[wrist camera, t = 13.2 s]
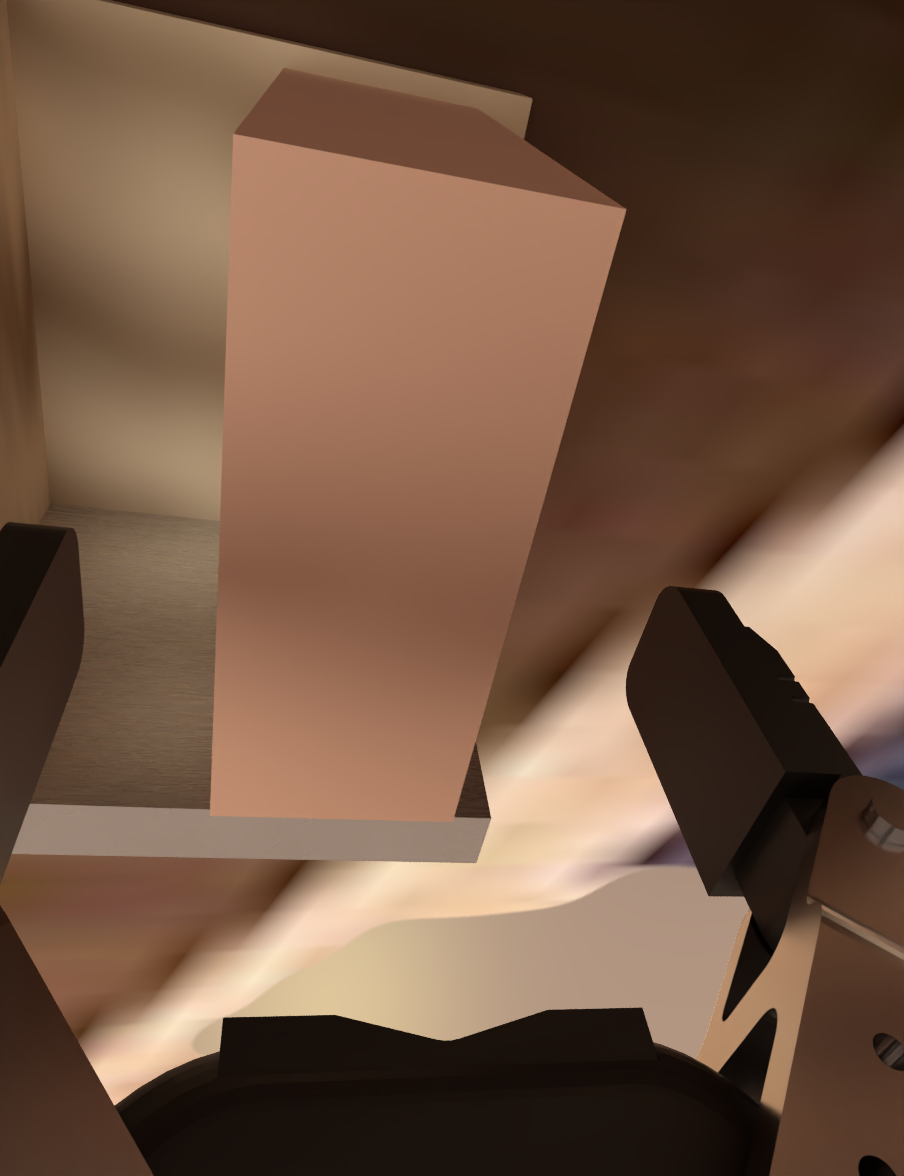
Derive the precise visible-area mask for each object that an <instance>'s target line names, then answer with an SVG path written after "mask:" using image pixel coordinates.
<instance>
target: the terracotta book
mask: <svg viewBox="0 0 904 1176" xmlns="http://www.w3.org/2000/svg"><path fill="white" fill-rule="evenodd" d="M625 213H626V209H625V208H624V207H622V206H621V205H619V204H618V203H616V202H615V201H613V200H612V199H610V198H609V197H607V196H606V195H605V194H603V193H602V192H600V191H599V190H597V189H596V188H594V187H593V186H591V185H590V184H588V183H587V182H585V181H584V180H582V179H581V178H579V177H578V176H576V175H575V174H573V173H572V172H571V171H569V170H568V169H566V168H565V167H563V166H562V165H560V164H559V163H557V162H556V161H554V160H553V159H551V158H550V157H548V156H547V155H545V154H544V153H542V152H541V151H540V150H538V149H537V148H535V147H534V146H532V145H531V144H529V143H528V142H526V141H525V140H523V139H522V138H520V137H519V136H517V135H516V134H514V133H513V132H511V131H510V130H508V129H507V128H506V127H504V126H503V125H501V124H500V123H498V122H497V121H495V120H494V119H492V118H491V117H489V116H488V115H486V114H485V113H483V112H482V111H480V110H479V109H477V108H473V107H468V106H464V105H459V104H454V103H449V102H445V101H440V100H435V99H430V98H426V97H421V96H416V95H411V94H407V93H402V92H397V91H392V90H388V89H383V88H378V87H373V86H369V85H364V84H359V83H354V82H350V81H345V80H340V79H336V78H331V77H326V76H321V75H317V74H312V73H307V72H302V71H298V70H293V69H288V68H283V70H282V71H281V72H280V73H279V75H278V76H277V77H276V79H275V80H274V81H273V83H272V84H271V85H270V87H269V88H268V89H267V90H266V92H265V93H264V94H263V96H262V97H261V98H260V100H259V101H258V102H257V103H256V105H255V106H254V107H253V109H252V110H251V111H250V113H249V114H248V115H247V117H246V118H245V119H244V120H243V122H242V123H241V124H240V126H239V127H238V128H237V130H236V131H235V132H234V133H233V154H232V184H231V213H230V242H229V271H228V301H227V330H226V359H225V389H224V418H223V447H222V476H221V506H220V535H219V564H218V593H217V623H216V652H215V681H214V710H213V740H212V769H211V798H210V816H233V817H273V818H312V819H352V820H392V821H431V822H453V819H454V816H455V812H456V809H457V805H458V802H459V798H460V795H461V791H462V788H463V784H464V781H465V777H466V774H467V770H468V766H469V763H470V759H471V756H472V752H473V749H474V745H475V742H476V738H477V735H478V731H479V728H480V724H481V721H482V717H483V714H484V710H485V707H486V703H487V699H488V696H489V692H490V689H491V685H492V682H493V678H494V675H495V671H496V668H497V664H498V661H499V657H500V654H501V650H502V647H503V643H504V640H505V636H506V632H507V629H508V625H509V622H510V618H511V615H512V611H513V608H514V604H515V601H516V597H517V594H518V590H519V587H520V583H521V580H522V576H523V573H524V569H525V565H526V562H527V558H528V555H529V551H530V548H531V544H532V541H533V537H534V534H535V530H536V527H537V523H538V520H539V516H540V513H541V509H542V506H543V502H544V498H545V495H546V491H547V488H548V484H549V481H550V477H551V474H552V470H553V467H554V463H555V460H556V456H557V453H558V449H559V446H560V442H561V438H562V435H563V431H564V428H565V424H566V421H567V417H568V414H569V410H570V407H571V403H572V400H573V396H574V393H575V389H576V386H577V382H578V379H579V375H580V371H581V368H582V364H583V361H584V357H585V354H586V350H587V347H588V343H589V340H590V336H591V333H592V329H593V326H594V322H595V319H596V315H597V312H598V308H599V304H600V301H601V297H602V294H603V290H604V287H605V283H606V280H607V276H608V273H609V269H610V266H611V262H612V259H613V255H614V252H615V248H616V245H617V241H618V237H619V234H620V230H621V227H622V223H623V220H624V216H625Z"/></svg>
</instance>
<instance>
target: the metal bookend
mask: <svg viewBox="0 0 904 1176" xmlns="http://www.w3.org/2000/svg"><path fill="white" fill-rule="evenodd" d="M39 525H47V526H58V527H68V528H73V529H74V530H75V532H76V535H77V539H78V546H79V560H80V573H81V586H82V600H83V613H84V645H83V653H82V659H81V664H80V668H79V671H78V674H77V677H76V680H75V682H74V685H73V688H72V691H71V693H70V696H69V699H68V701H67V704H66V707H65V710H64V712H63V715H62V718H61V720H60V723H59V726H58V729H57V731H56V734H55V737H54V740H53V742H52V745H51V748H50V750H49V753H48V756H47V759H46V761H45V764H44V767H43V769H42V772H41V775H40V778H39V780H38V783H37V786H36V788H35V791H34V794H33V797H32V799H31V802H30V805H29V808H28V810H27V813H26V816H25V818H24V821H23V824H22V827H21V829H20V832H19V835H18V837H17V840H16V843H15V846H14V848H13V851H12V854H52V855H101V856H151V857H201V858H251V859H301V860H351V861H401V862H451V863H476V862H477V859H478V856H479V853H480V850H481V847H482V844H483V841H484V838H485V835H486V832H487V829H488V826H489V823H490V820H491V816H490V811H489V806H488V801H487V796H486V791H485V786H484V781H483V776H482V771H481V766H480V761H479V756H478V751H477V745H476V742H475V745H474V749H473V752H472V756H471V759H470V763H469V766H468V770H467V774H466V777H465V781H464V784H463V788H462V791H461V795H460V798H459V802H458V805H457V809H456V812H455V816H454V819H453V822H431V821H392V820H352V819H312V818H273V817H233V816H210V798H211V769H212V740H213V710H214V681H215V652H216V623H217V593H218V564H219V535H220V521H216V520H206V519H197V518H187V517H177V516H168V515H158V514H149V513H139V512H129V511H120V510H110V509H101V508H91V507H81V506H72V505H62V504H52V503H50V505H49V507H48V509H47V510H46V512H45V514H44V516H43V517H42V519H41V521H40V523H39Z"/></svg>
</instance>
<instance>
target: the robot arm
mask: <svg viewBox="0 0 904 1176" xmlns="http://www.w3.org/2000/svg"><path fill="white" fill-rule="evenodd" d="M83 645H84V613H83V600H82V586H81V573H80V560H79V546H78V539H77V535H76V532H75V530H74V529H73V528H68V527H58V526H47V525H37V524H26V523H16V522H8V523H6V524H5V525H4V526H3V528H2V529H1V531H0V884H1V881H2V878H3V875H4V873H5V870H6V867H7V865H8V862H9V859H10V856H11V854H12V851H13V848H14V846H15V843H16V840H17V837H18V835H19V832H20V829H21V827H22V824H23V821H24V818H25V816H26V813H27V810H28V808H29V805H30V802H31V799H32V797H33V794H34V791H35V788H36V786H37V783H38V780H39V778H40V775H41V772H42V769H43V767H44V764H45V761H46V759H47V756H48V753H49V750H50V748H51V745H52V742H53V740H54V737H55V734H56V731H57V729H58V726H59V723H60V720H61V718H62V715H63V712H64V710H65V707H66V704H67V701H68V699H69V696H70V693H71V691H72V688H73V685H74V682H75V680H76V677H77V674H78V671H79V668H80V664H81V659H82V653H83ZM794 678H795V676H794V675H793V673H792V672H791V670H790V669H789V667H788V666H787V664H786V663H785V661H784V660H783V659H782V657H781V656H780V654H779V653H778V651H777V650H776V649H774V648H773V647H772V646H771V645H770V644H769V643H767V642H766V641H765V640H764V639H763V638H761V637H760V636H759V635H758V634H757V633H756V632H754V631H753V630H752V629H751V628H750V627H744V625H743V624H742V622H741V621H740V619H739V618H738V616H737V615H736V613H735V612H734V610H733V608H732V607H731V605H730V604H729V602H728V601H727V599H726V598H725V597H724V595H723V594H722V593H721V592H719V591H716V590H705V589H695V588H684V587H674V586H669V587H666V588H665V589H663V591H662V592H661V593H660V594H659V596H658V598H657V600H656V602H655V605H654V607H653V610H652V612H651V614H650V617H649V619H648V622H647V624H646V626H645V629H644V631H643V634H642V636H641V638H640V641H639V643H638V646H637V648H636V650H635V653H634V655H633V658H632V660H631V663H630V665H629V668H628V672H627V678H626V696H627V702H628V706H629V709H630V711H631V714H632V716H633V718H634V721H635V723H636V725H637V728H638V730H639V733H640V735H641V737H642V740H643V742H644V744H645V747H646V749H647V751H648V754H649V756H650V759H651V761H652V763H653V766H654V768H655V770H656V773H657V775H658V777H659V780H660V782H661V785H662V787H663V789H664V792H665V794H666V796H667V799H668V801H669V804H670V806H671V808H672V811H673V813H674V815H675V818H676V820H677V822H678V825H679V827H680V830H681V832H682V834H683V837H684V839H685V841H686V844H687V846H688V849H689V851H690V853H691V856H692V858H693V860H694V863H695V865H696V867H697V870H698V872H699V875H700V877H701V879H702V882H703V884H704V886H705V889H706V891H707V893H708V896H744V897H745V899H746V901H747V903H748V906H749V907H750V910H749V911H748V913H747V914H746V915H745V917H744V918H743V920H742V922H741V924H740V926H739V929H738V933H737V936H736V939H735V943H734V946H733V949H732V953H731V956H730V959H729V962H728V965H727V969H726V972H725V975H724V979H723V982H722V985H721V989H720V992H719V995H718V999H717V1002H716V1005H715V1009H714V1012H713V1015H712V1018H711V1021H710V1025H709V1028H708V1031H707V1034H706V1037H705V1040H704V1042H703V1045H702V1047H701V1050H700V1052H699V1054H698V1056H697V1058H696V1059H693V1058H692V1057H690V1056H688V1055H686V1054H684V1053H681V1052H679V1051H676V1050H674V1049H671V1048H669V1047H666V1046H664V1045H661V1044H657V1043H654V1042H653V1041H652V1038H651V1034H650V1031H649V1028H648V1025H647V1021H646V1018H645V1015H644V1012H643V1009H642V1008H610V1009H566V1010H546V1011H543V1012H540V1013H537V1014H534V1015H531V1016H528V1017H525V1018H521V1019H518V1020H516V1021H512V1022H509V1023H506V1024H503V1025H500V1026H497V1027H494V1028H491V1029H488V1030H485V1031H482V1032H479V1033H475V1034H472V1035H469V1036H467V1037H463V1038H460V1039H456V1040H452V1041H442V1040H436V1039H431V1038H427V1037H423V1036H419V1035H415V1034H411V1033H406V1032H403V1031H399V1030H394V1029H390V1028H386V1027H382V1026H378V1025H373V1024H369V1023H365V1022H362V1021H358V1020H353V1019H349V1018H345V1017H341V1016H337V1015H317V1016H276V1017H274V1016H273V1017H232V1018H223V1026H222V1036H221V1046H220V1051H219V1052H216V1053H213V1054H210V1055H207V1056H204V1057H200V1058H197V1059H194V1060H192V1061H190V1062H187V1063H185V1064H183V1065H181V1066H178V1067H176V1068H174V1069H172V1070H169V1071H167V1072H165V1073H164V1074H162V1075H160V1076H158V1077H157V1078H155V1079H153V1080H152V1081H150V1082H148V1083H146V1084H145V1085H143V1086H141V1087H140V1088H138V1089H137V1090H135V1091H134V1092H133V1093H131V1094H130V1095H129V1096H127V1097H126V1098H125V1099H123V1100H122V1101H121V1102H119V1103H118V1104H116V1105H115V1106H114V1105H113V1103H112V1101H111V1099H110V1097H109V1096H108V1094H107V1092H106V1090H105V1089H104V1087H103V1085H102V1083H101V1082H100V1080H99V1078H98V1076H97V1074H96V1073H95V1071H94V1069H93V1067H92V1066H91V1064H90V1062H89V1060H88V1058H87V1057H86V1055H85V1053H84V1051H83V1050H82V1048H81V1046H80V1044H79V1043H78V1041H77V1039H76V1037H75V1035H74V1034H73V1032H72V1030H71V1028H70V1027H69V1025H68V1023H67V1021H66V1020H65V1018H64V1016H63V1014H62V1012H61V1011H60V1009H59V1007H58V1005H57V1004H56V1002H55V1000H54V998H53V997H52V995H51V993H50V991H49V989H48V988H47V986H46V984H45V982H44V981H43V979H42V977H41V975H40V973H39V972H38V970H37V968H36V966H35V965H34V963H33V961H32V959H31V958H30V956H29V954H28V952H27V950H26V949H25V947H24V945H23V943H22V942H21V940H20V938H19V936H18V935H17V933H16V931H15V929H14V927H13V926H12V924H11V922H10V920H9V919H8V917H7V915H6V914H5V912H4V911H3V909H2V908H1V906H0V1176H904V790H902V789H900V788H899V787H897V786H895V785H893V784H890V783H888V782H886V781H883V780H880V779H877V778H873V777H868V776H863V775H862V774H861V772H860V771H859V770H858V768H857V767H856V765H855V764H854V762H853V761H852V759H851V758H850V756H849V755H848V754H847V752H846V751H845V749H844V748H843V746H842V745H841V743H840V742H839V740H838V739H837V737H836V736H835V735H834V733H833V732H832V730H831V729H830V727H829V726H828V724H827V723H826V721H825V720H824V718H823V717H822V716H821V714H820V713H819V711H818V710H817V708H816V707H815V705H814V704H813V703H809V697H808V695H807V694H806V692H805V691H804V689H803V688H802V686H801V685H800V683H799V682H795V681H794Z"/></svg>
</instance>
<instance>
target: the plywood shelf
mask: <svg viewBox="0 0 904 1176" xmlns="http://www.w3.org/2000/svg"><path fill="white" fill-rule="evenodd" d="M283 68H288V69H293V70H298V71H302V72H307V73H312V74H317V75H321V76H326V77H331V78H336V79H340V80H345V81H350V82H354V83H359V84H364V85H369V86H373V87H378V88H383V89H388V90H392V91H397V92H402V93H407V94H411V95H416V96H421V97H426V98H430V99H435V100H440V101H445V102H449V103H454V104H459V105H464V106H468V107H473V108H477V109H479V110H480V111H482V112H483V113H485V114H486V115H488V116H489V117H491V118H492V119H494V120H495V121H497V122H498V123H500V124H501V125H503V126H504V127H506V128H507V129H508V130H510V131H511V132H513V133H514V134H516V135H517V136H519V137H520V138H522V139H523V140H524V136H525V132H526V127H527V123H528V118H529V113H530V109H531V104H532V100H533V99H532V98H530V97H528V96H525V95H523V94H521V93H517V92H512V91H508V90H503V89H499V88H495V87H490V86H486V85H481V84H477V83H473V82H468V81H464V80H459V79H455V78H451V77H446V76H442V75H437V74H433V73H429V72H424V71H420V70H416V69H411V68H407V67H402V66H398V65H394V64H389V63H385V62H380V61H376V60H372V59H367V58H363V57H358V56H354V55H350V54H345V53H341V52H336V51H332V50H328V49H323V48H319V47H314V46H310V45H306V44H301V43H297V42H292V41H288V40H284V39H279V38H275V37H270V36H266V35H262V34H257V33H253V32H248V31H244V30H240V29H235V28H231V27H226V26H222V25H218V24H213V23H209V22H204V21H200V20H196V19H191V18H187V17H182V16H178V15H174V14H169V13H165V12H160V11H156V10H152V9H147V8H143V7H138V6H134V5H130V4H125V3H121V2H116V1H112V0H0V531H1V529H2V528H3V526H4V525H5V524H6V523H8V522H16V523H26V524H37V525H39V523H40V521H41V519H42V517H43V516H44V514H45V512H46V510H47V509H48V507H49V505H50V503H52V504H62V505H72V506H81V507H91V508H101V509H110V510H120V511H129V512H139V513H149V514H158V515H168V516H177V517H187V518H197V519H206V520H216V521H220V506H221V476H222V447H223V418H224V389H225V359H226V330H227V301H228V271H229V242H230V213H231V184H232V154H233V133H234V132H235V131H236V130H237V128H238V127H239V126H240V124H241V123H242V122H243V120H244V119H245V118H246V117H247V115H248V114H249V113H250V111H251V110H252V109H253V107H254V106H255V105H256V103H257V102H258V101H259V100H260V98H261V97H262V96H263V94H264V93H265V92H266V90H267V89H268V88H269V87H270V85H271V84H272V83H273V81H274V80H275V79H276V77H277V76H278V75H279V73H280V72H281V71H282V70H283Z"/></svg>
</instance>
